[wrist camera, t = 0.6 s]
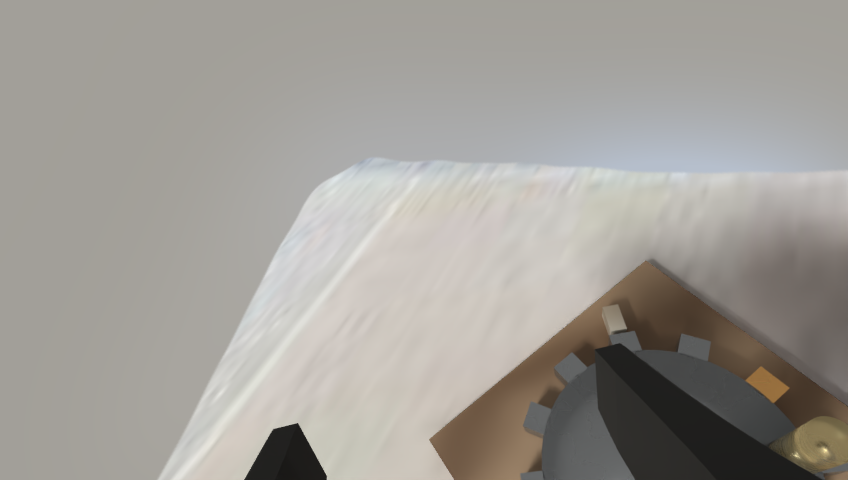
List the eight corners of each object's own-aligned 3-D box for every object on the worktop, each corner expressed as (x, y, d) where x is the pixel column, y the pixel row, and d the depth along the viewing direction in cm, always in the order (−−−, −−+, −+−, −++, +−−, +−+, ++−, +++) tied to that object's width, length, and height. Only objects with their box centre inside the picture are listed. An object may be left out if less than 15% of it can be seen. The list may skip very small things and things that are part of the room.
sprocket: (935, 517, 19) (1052, 506, 14) (695, 768, 17) (738, 854, 12) (649, 295, 27) (663, 243, 23) (471, 445, 25) (445, 422, 21)
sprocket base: (1002, 532, 19) (1044, 530, 17) (699, 861, 16) (712, 899, 15) (644, 268, 30) (647, 250, 28) (433, 442, 27) (423, 435, 26)
